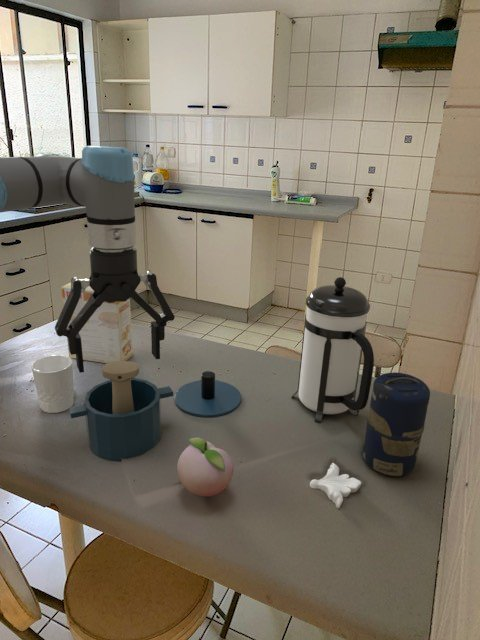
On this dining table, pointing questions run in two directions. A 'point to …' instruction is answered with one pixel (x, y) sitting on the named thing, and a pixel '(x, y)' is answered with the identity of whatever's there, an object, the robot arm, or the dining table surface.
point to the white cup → (54, 382)
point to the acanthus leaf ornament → (336, 485)
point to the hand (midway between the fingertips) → (119, 362)
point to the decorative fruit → (204, 468)
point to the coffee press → (335, 351)
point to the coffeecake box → (104, 329)
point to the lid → (207, 397)
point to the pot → (122, 420)
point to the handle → (121, 384)
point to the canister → (395, 423)
